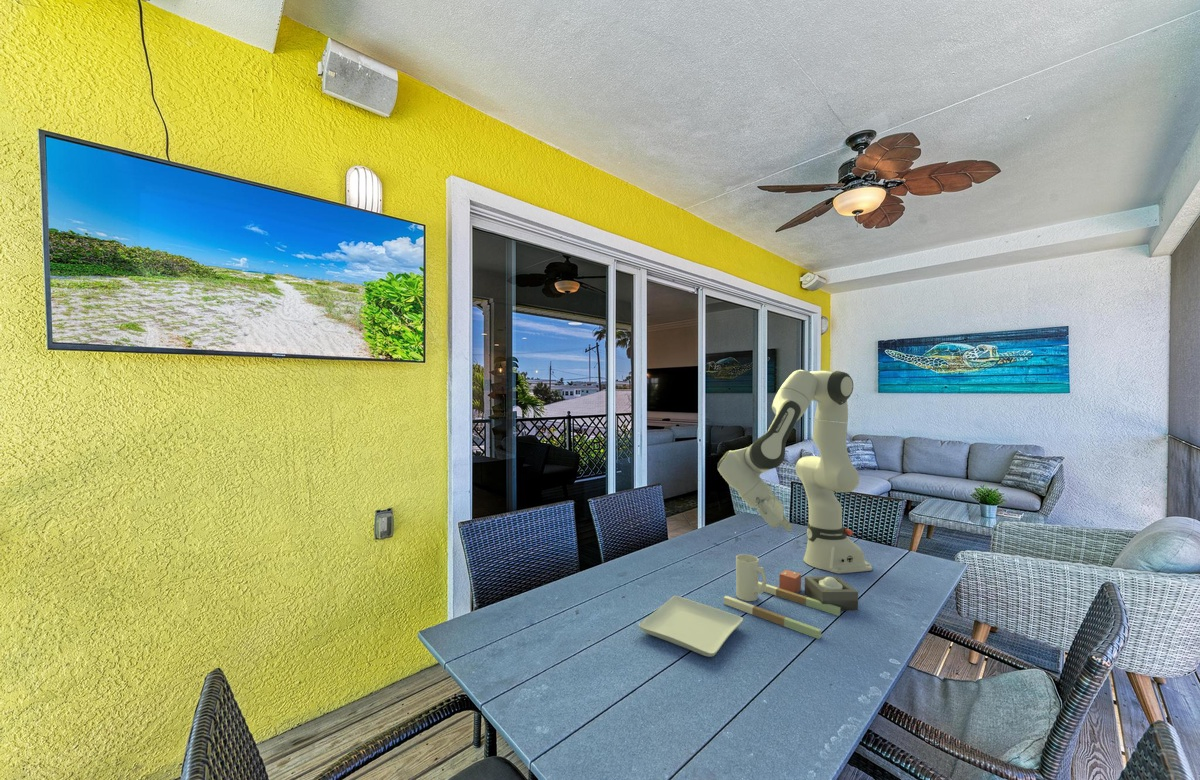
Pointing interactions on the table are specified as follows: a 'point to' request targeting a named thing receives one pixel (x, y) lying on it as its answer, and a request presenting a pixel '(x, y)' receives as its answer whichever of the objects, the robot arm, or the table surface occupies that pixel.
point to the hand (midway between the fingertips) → (790, 529)
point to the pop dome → (830, 583)
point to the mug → (748, 577)
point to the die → (790, 581)
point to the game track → (782, 619)
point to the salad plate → (691, 625)
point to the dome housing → (832, 594)
